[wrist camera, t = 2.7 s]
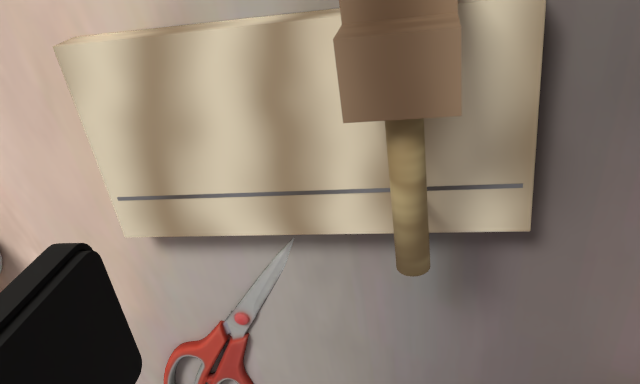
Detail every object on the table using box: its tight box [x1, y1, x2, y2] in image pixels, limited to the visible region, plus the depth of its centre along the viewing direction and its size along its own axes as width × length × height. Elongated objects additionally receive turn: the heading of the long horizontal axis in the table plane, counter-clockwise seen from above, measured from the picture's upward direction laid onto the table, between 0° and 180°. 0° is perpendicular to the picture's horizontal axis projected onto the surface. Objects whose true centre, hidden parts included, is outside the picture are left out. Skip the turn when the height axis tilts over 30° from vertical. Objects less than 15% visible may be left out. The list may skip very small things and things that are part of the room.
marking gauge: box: [333, 0, 462, 276], centre depth 24 cm, size 4×13×8 cm, turn 8°
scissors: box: [164, 237, 295, 384], centre depth 38 cm, size 8×21×2 cm, turn 165°
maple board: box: [53, 0, 546, 237], centre depth 29 cm, size 24×12×2 cm, turn 98°
